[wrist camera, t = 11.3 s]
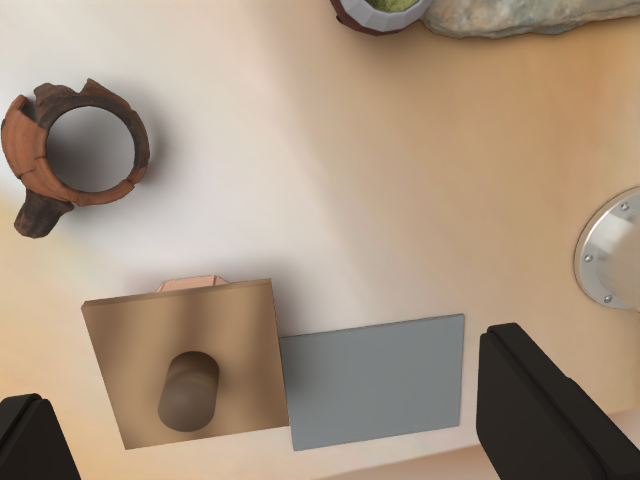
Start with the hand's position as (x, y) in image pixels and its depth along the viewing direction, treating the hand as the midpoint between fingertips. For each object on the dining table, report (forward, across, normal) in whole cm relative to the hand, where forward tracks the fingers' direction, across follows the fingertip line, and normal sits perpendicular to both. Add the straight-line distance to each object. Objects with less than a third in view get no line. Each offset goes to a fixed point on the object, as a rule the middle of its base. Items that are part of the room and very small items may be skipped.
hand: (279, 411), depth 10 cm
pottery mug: (+30, +14, -1) cm, 33 cm away
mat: (+30, -8, +25) cm, 40 cm away
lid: (+25, +8, +16) cm, 31 cm away
